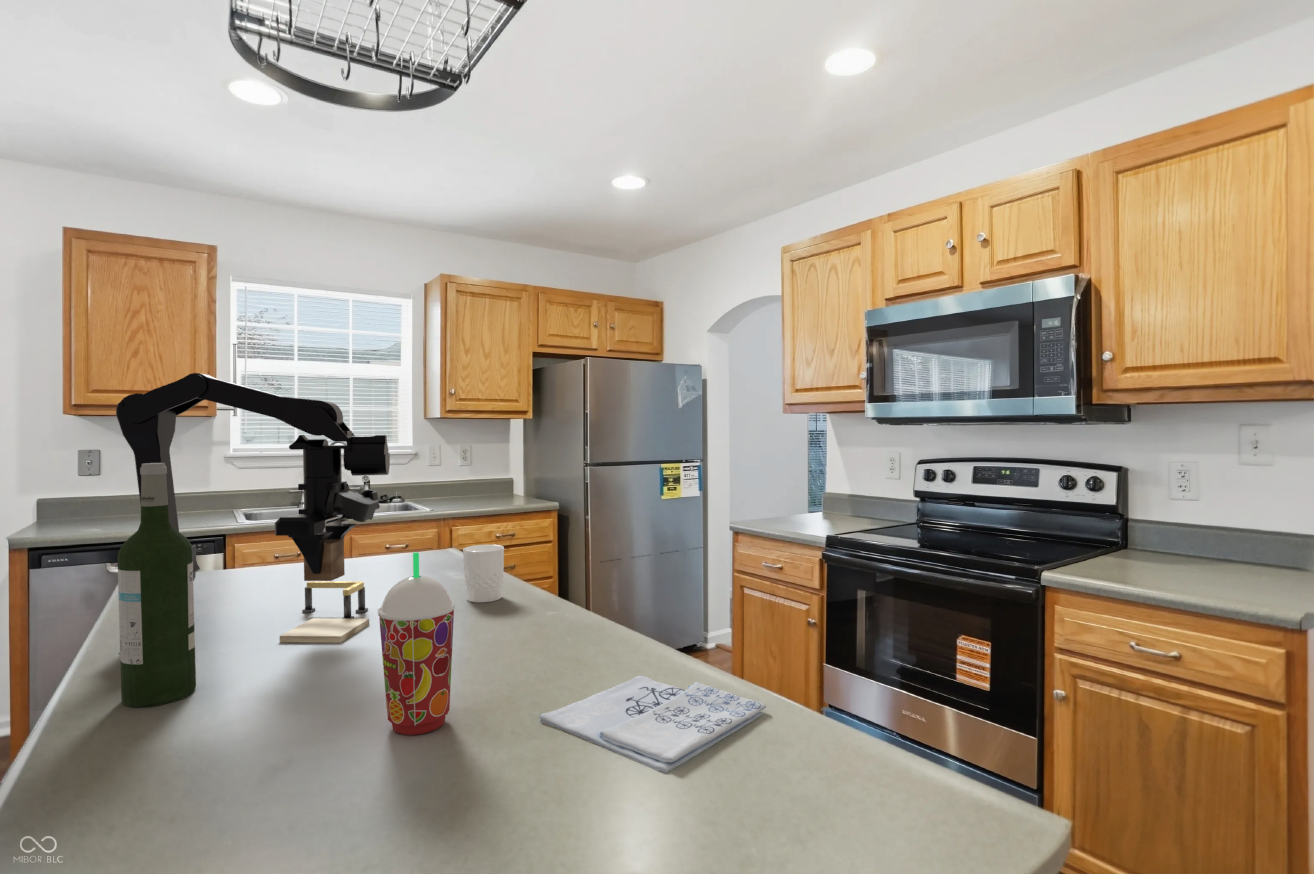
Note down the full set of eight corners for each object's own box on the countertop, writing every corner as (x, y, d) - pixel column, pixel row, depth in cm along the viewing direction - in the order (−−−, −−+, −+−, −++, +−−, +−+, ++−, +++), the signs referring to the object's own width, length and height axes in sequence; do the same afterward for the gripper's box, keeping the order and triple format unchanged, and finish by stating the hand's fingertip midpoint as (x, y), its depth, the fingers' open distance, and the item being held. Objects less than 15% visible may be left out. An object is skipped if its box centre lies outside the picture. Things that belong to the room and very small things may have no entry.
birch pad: (341, 642, 114) (341, 636, 114) (279, 642, 114) (279, 635, 114) (369, 624, 124) (369, 618, 124) (312, 624, 124) (312, 618, 124)
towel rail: (349, 621, 126) (349, 590, 125) (285, 621, 126) (284, 590, 126) (368, 610, 133) (367, 581, 133) (306, 610, 133) (306, 581, 133)
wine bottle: (210, 687, 95) (205, 461, 94) (154, 710, 87) (147, 465, 87) (164, 681, 97) (158, 461, 96) (105, 704, 90) (98, 465, 89)
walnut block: (331, 580, 116) (330, 544, 116) (304, 580, 117) (303, 544, 116) (344, 574, 121) (343, 539, 121) (318, 574, 121) (317, 539, 121)
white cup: (513, 596, 142) (512, 546, 142) (484, 605, 136) (483, 553, 135) (484, 591, 146) (484, 543, 146) (455, 600, 140) (454, 549, 140)
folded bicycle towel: (667, 780, 71) (667, 758, 71) (535, 725, 84) (534, 706, 84) (769, 717, 85) (769, 699, 85) (642, 678, 98) (642, 663, 98)
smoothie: (380, 716, 85) (377, 549, 85) (453, 705, 88) (450, 544, 88) (379, 746, 77) (376, 562, 77) (459, 733, 80) (456, 556, 80)
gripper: (343, 481, 109) (345, 583, 109) (393, 472, 127) (395, 559, 128) (271, 481, 109) (273, 583, 109) (332, 472, 128) (334, 559, 128)
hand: (324, 570), depth 119 cm, fingers closed on walnut block, 4 cm apart
